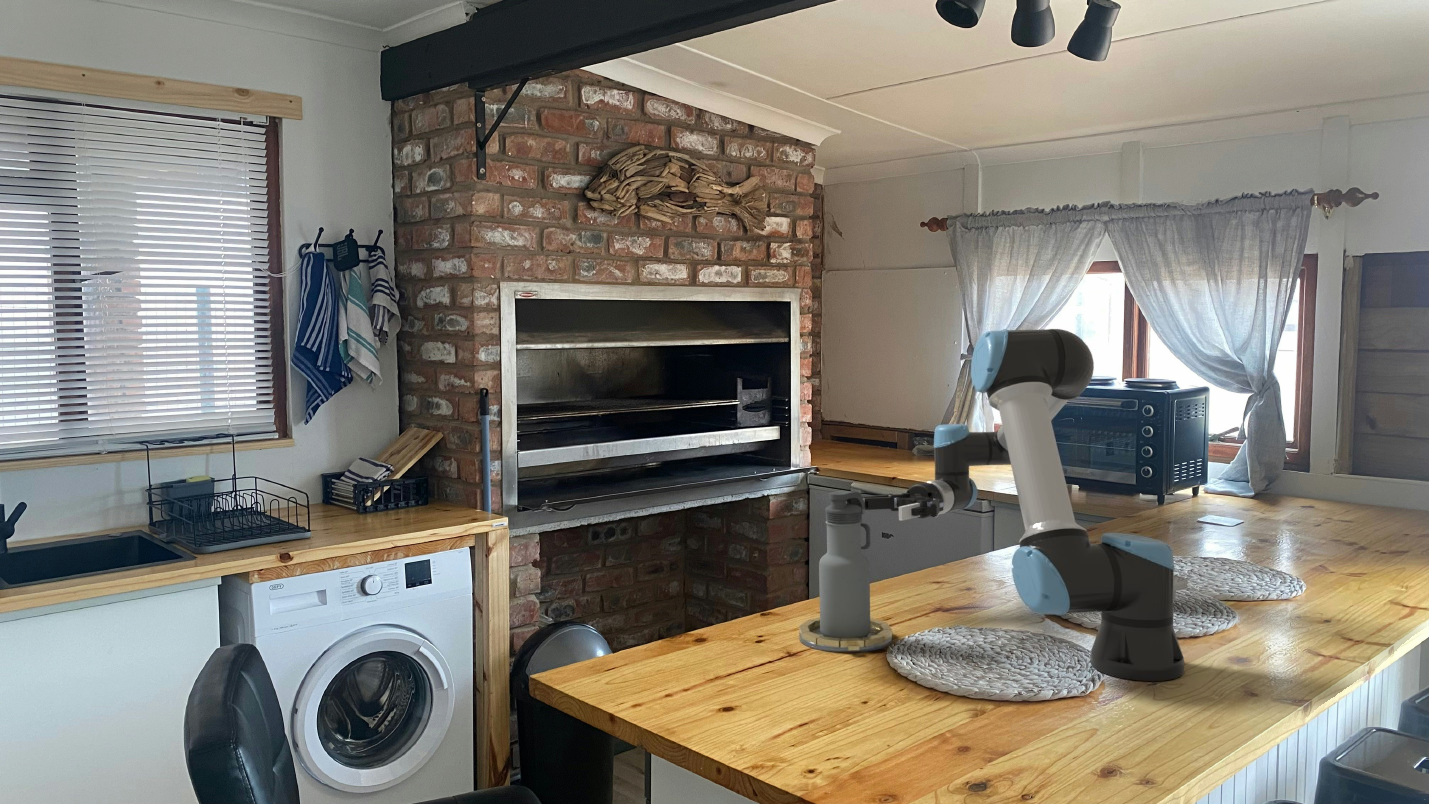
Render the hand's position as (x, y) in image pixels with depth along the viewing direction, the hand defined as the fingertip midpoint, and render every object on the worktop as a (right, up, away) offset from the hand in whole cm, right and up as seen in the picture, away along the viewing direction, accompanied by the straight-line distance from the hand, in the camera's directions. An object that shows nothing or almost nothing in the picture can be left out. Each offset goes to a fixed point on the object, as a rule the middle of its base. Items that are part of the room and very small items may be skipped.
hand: (871, 511), depth 205 cm
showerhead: (+63, -22, +11) cm, 68 cm away
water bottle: (-6, -24, -6) cm, 25 cm away
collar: (-6, -24, -6) cm, 26 cm away
